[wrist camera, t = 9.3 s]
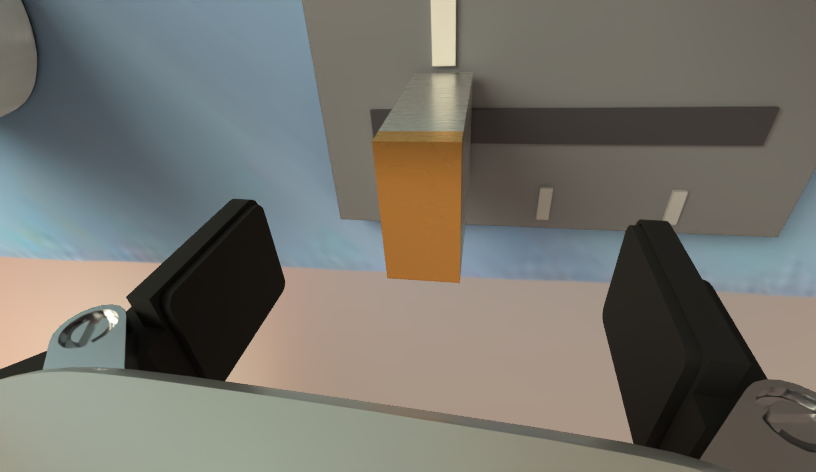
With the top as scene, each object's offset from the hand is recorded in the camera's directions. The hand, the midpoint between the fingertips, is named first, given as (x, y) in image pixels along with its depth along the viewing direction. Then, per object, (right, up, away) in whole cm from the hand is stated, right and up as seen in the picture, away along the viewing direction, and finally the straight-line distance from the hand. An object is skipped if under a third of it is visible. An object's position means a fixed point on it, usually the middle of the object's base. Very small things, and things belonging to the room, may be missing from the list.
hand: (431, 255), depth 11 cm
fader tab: (+1, +5, +8) cm, 10 cm away
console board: (+6, +7, +9) cm, 13 cm away
